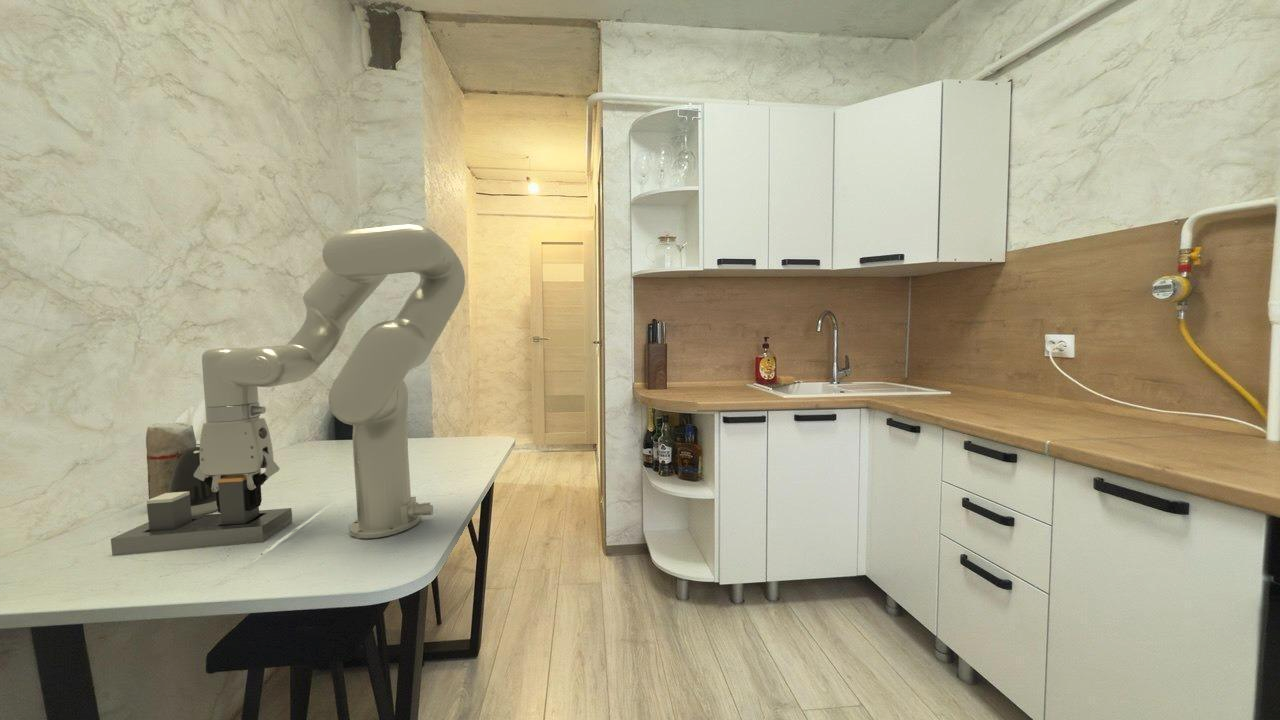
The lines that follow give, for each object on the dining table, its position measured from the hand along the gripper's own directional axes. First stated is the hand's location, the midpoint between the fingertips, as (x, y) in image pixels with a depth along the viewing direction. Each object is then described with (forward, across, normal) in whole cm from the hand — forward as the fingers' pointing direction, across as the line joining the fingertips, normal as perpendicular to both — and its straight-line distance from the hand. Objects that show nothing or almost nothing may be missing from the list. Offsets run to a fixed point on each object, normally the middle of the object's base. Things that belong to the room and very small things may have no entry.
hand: (239, 508), depth 88 cm
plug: (+2, 0, 0) cm, 2 cm away
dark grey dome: (+7, +19, -17) cm, 26 cm away
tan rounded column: (+7, +28, -22) cm, 36 cm away
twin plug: (+5, +12, 0) cm, 13 cm away
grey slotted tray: (+6, +6, 0) cm, 8 cm away
